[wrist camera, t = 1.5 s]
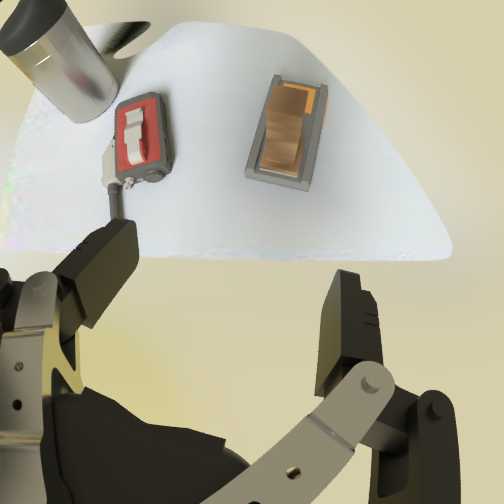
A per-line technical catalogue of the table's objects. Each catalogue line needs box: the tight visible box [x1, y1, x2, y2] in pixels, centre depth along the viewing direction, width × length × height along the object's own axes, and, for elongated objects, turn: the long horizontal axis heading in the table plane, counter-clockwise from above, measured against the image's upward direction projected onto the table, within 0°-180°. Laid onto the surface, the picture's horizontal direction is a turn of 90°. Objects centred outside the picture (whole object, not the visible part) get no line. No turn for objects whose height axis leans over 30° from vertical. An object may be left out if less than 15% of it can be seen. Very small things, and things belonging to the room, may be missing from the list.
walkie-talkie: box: [102, 92, 172, 220], centre depth 32 cm, size 9×4×20 cm
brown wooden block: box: [259, 84, 309, 176], centre depth 26 cm, size 4×4×10 cm
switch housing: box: [245, 75, 328, 192], centre depth 32 cm, size 7×14×3 cm, turn 166°
